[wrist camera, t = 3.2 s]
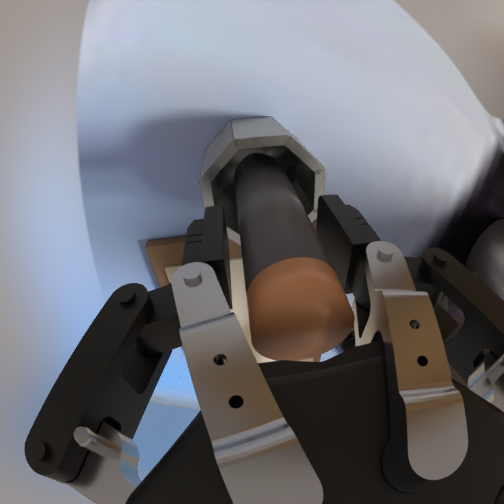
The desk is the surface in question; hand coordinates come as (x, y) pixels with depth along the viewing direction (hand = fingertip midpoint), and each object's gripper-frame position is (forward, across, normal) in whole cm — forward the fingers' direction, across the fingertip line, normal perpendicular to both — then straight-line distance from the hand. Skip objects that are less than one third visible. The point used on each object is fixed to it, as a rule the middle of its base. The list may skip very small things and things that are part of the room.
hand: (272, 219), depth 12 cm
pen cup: (+7, 0, 0) cm, 7 cm away
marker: (+6, 0, 0) cm, 6 cm away
